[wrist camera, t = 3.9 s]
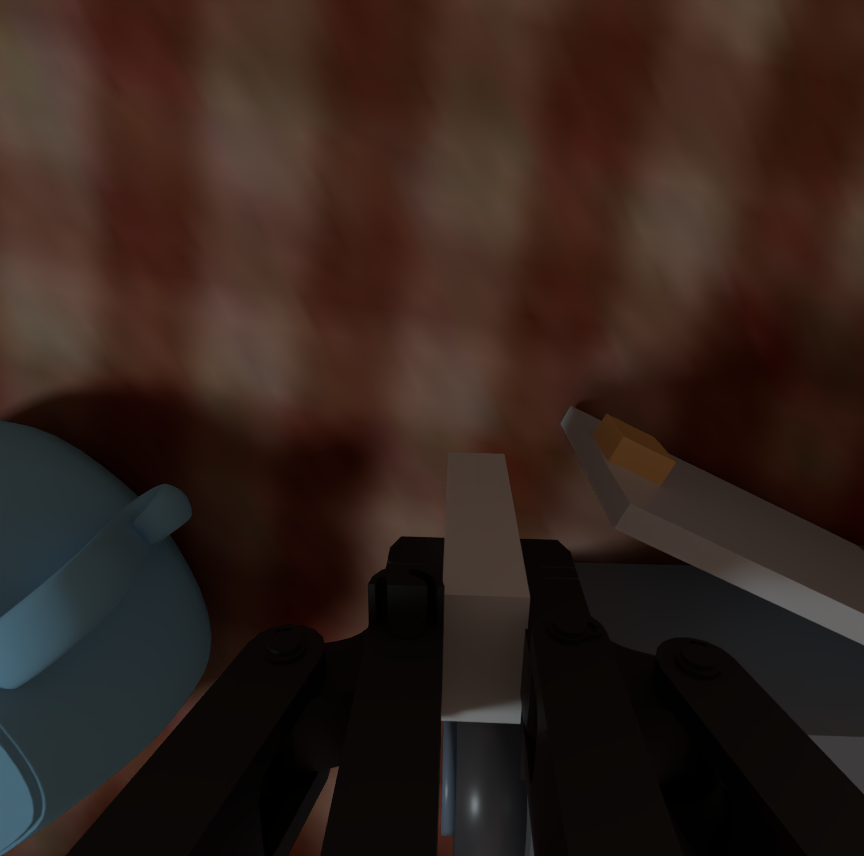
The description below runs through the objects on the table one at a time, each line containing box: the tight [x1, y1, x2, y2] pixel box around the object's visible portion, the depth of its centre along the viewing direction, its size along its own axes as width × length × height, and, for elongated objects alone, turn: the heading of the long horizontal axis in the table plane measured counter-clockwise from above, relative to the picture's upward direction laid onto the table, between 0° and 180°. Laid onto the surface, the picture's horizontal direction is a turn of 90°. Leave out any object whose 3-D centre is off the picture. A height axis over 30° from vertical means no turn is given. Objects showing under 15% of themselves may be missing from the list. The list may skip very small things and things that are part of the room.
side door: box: [560, 406, 864, 645], centre depth 18 cm, size 12×2×8 cm, turn 64°
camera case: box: [441, 562, 864, 856], centre depth 21 cm, size 14×10×9 cm
